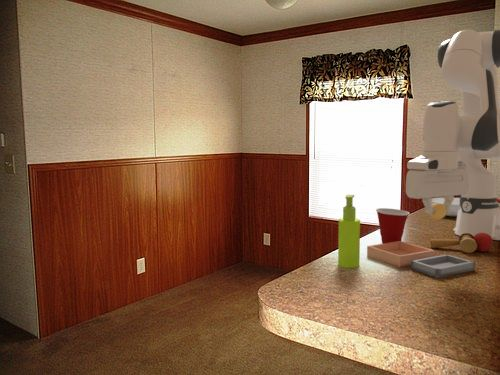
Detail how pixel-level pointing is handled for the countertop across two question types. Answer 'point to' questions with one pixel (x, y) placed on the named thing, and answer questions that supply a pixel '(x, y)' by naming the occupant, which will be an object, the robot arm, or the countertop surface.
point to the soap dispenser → (349, 236)
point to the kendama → (466, 242)
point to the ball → (438, 211)
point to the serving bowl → (453, 208)
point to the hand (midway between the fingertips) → (437, 213)
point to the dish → (398, 253)
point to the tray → (442, 265)
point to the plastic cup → (391, 224)
